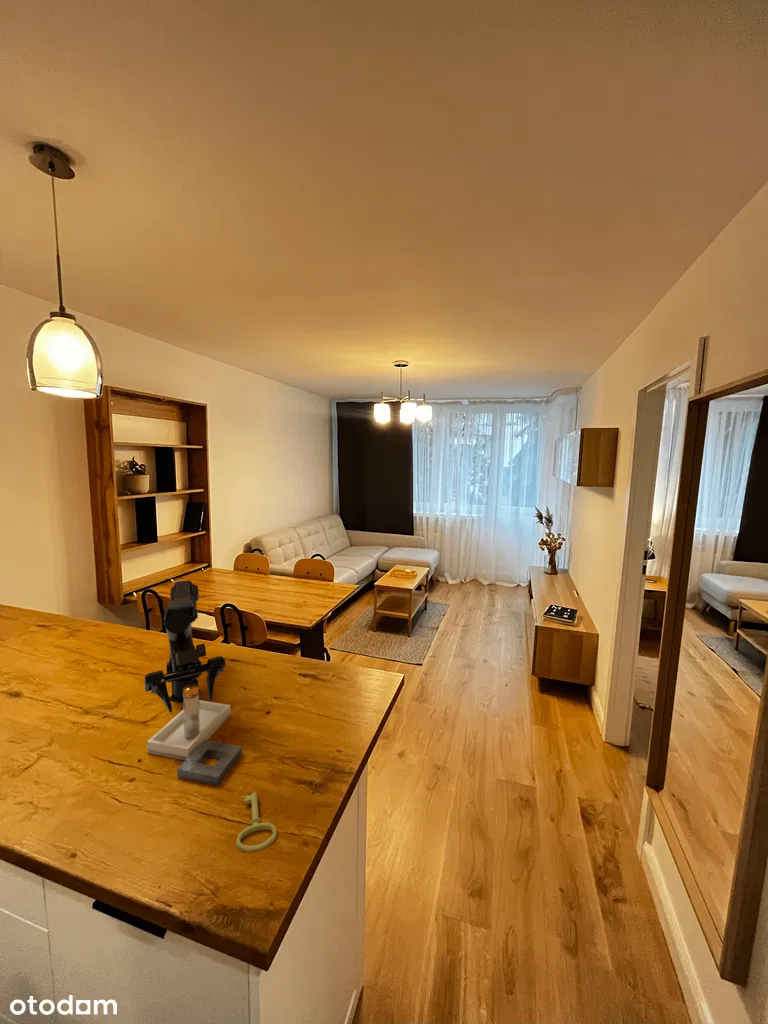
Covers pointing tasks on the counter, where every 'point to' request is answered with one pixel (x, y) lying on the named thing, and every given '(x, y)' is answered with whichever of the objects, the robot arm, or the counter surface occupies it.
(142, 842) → the counter surface
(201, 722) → the parts tray
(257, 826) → the key
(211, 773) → the grey flat square frame
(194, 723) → the pin
